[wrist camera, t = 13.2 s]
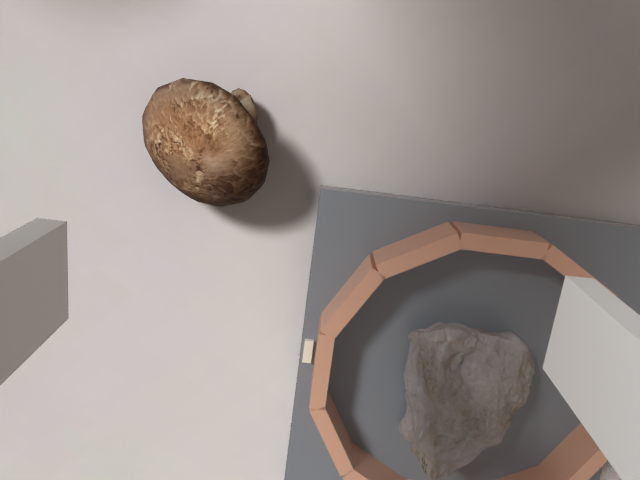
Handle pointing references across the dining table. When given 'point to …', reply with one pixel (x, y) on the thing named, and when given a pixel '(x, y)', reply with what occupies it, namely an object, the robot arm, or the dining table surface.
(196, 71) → the dining table surface
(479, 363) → the stone
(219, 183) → the mushroom
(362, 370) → the socket
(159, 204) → the dining table surface
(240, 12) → the dining table surface
